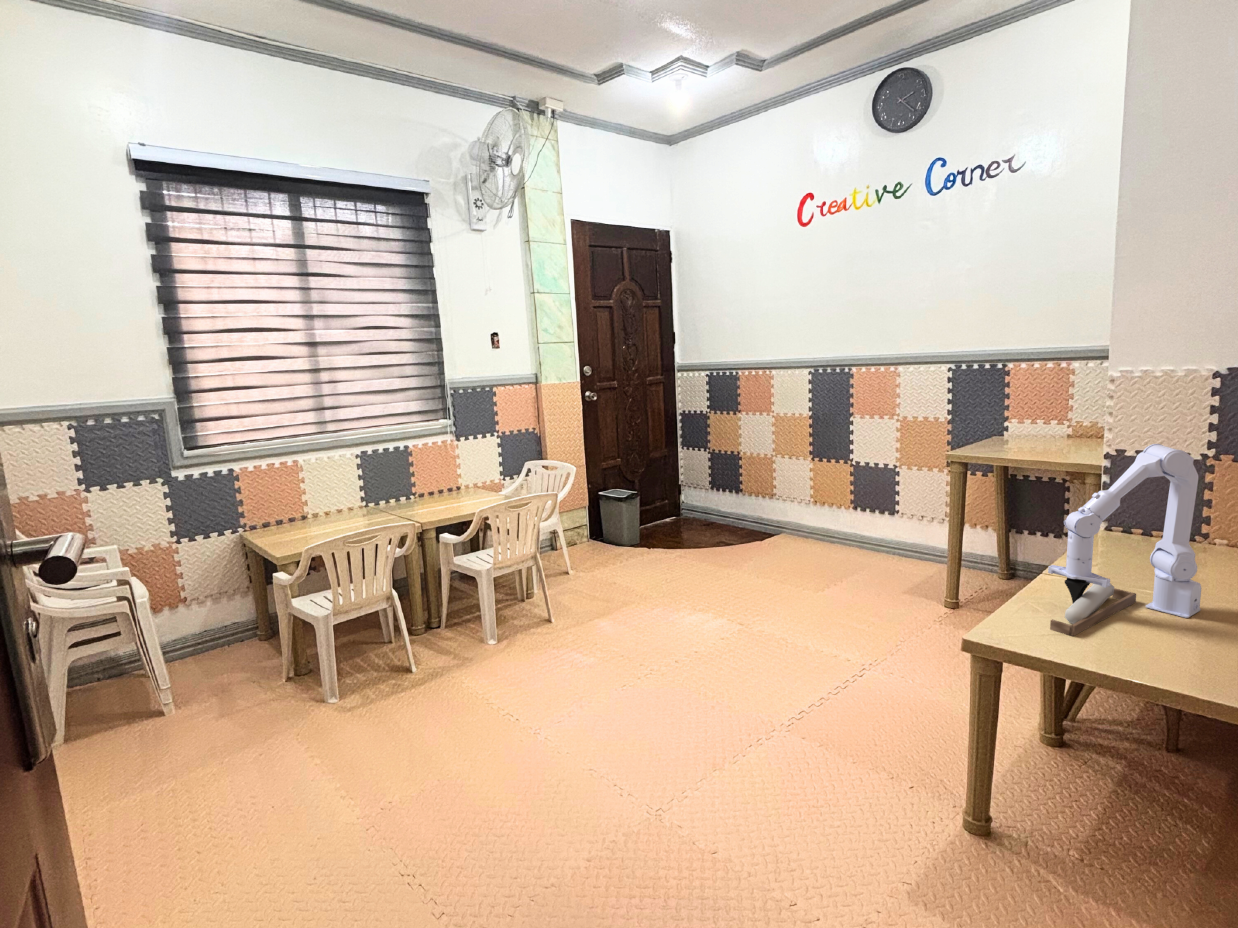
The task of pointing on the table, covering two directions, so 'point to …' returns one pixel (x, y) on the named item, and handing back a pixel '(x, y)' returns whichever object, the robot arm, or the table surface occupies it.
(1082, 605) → the tube
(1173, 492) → the robot arm
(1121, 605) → the bay
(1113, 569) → the table surface
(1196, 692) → the table surface
